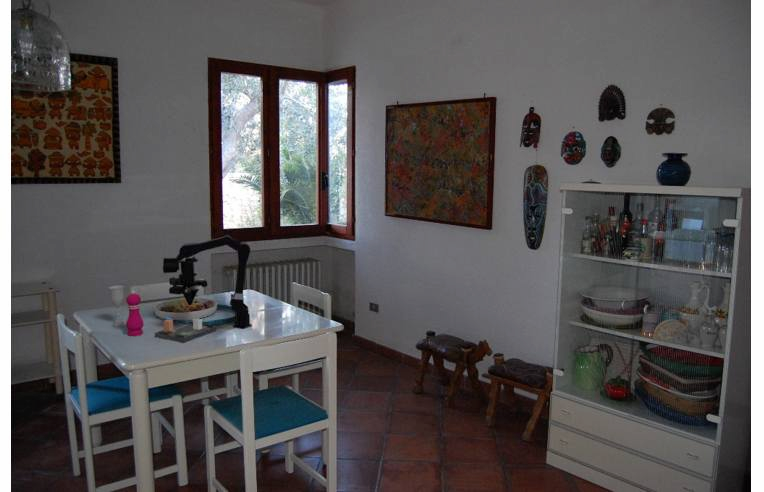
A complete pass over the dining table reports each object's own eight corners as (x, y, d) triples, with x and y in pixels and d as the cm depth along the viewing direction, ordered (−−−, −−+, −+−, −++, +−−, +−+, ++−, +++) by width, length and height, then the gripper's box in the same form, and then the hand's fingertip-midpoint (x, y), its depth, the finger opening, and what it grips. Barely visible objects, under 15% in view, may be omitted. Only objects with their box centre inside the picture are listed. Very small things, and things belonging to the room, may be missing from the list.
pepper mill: (137, 337, 257) (135, 292, 254) (123, 336, 258) (120, 291, 255) (147, 332, 264) (145, 289, 261) (133, 331, 265) (130, 288, 262)
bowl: (143, 321, 282) (142, 305, 281) (172, 306, 312) (171, 291, 311) (202, 324, 279) (201, 308, 278) (226, 308, 308) (225, 293, 307)
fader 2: (202, 328, 262) (201, 318, 261) (198, 329, 260) (198, 320, 259) (197, 327, 263) (196, 317, 263) (193, 328, 261) (192, 319, 261)
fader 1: (173, 329, 259) (172, 320, 259) (169, 331, 257) (168, 321, 256) (168, 329, 261) (167, 319, 260) (164, 330, 258) (163, 320, 258)
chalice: (130, 323, 277) (128, 286, 274) (118, 327, 271) (116, 289, 268) (119, 321, 280) (117, 285, 278) (107, 325, 274) (104, 287, 271)
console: (216, 330, 267) (216, 325, 267) (184, 342, 250) (184, 336, 249) (188, 325, 275) (188, 320, 275) (155, 337, 257) (154, 331, 257)
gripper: (189, 266, 277) (191, 298, 279) (158, 274, 260) (161, 308, 262) (207, 268, 272) (209, 301, 274) (177, 276, 255) (179, 310, 258)
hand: (189, 305), depth 267 cm, fingers closed
